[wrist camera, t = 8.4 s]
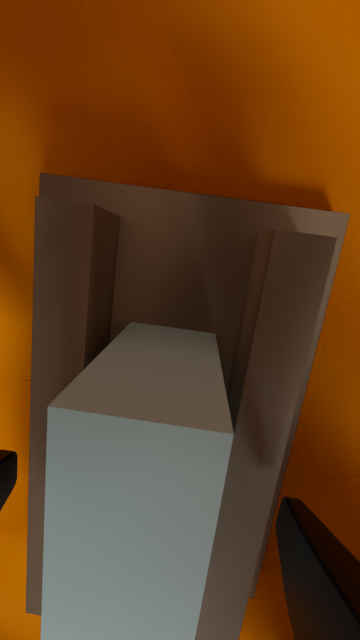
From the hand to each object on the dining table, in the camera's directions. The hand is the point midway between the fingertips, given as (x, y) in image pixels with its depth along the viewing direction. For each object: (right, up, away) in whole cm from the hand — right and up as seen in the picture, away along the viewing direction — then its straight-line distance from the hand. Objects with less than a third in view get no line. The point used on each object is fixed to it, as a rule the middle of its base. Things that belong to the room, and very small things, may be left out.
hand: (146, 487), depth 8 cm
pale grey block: (0, +1, +3) cm, 4 cm away
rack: (0, +1, +4) cm, 4 cm away
